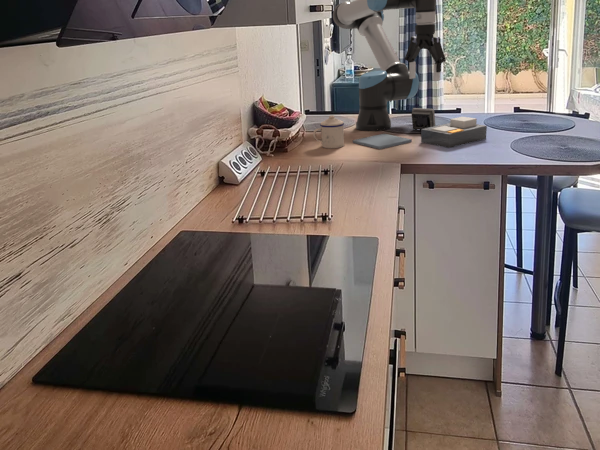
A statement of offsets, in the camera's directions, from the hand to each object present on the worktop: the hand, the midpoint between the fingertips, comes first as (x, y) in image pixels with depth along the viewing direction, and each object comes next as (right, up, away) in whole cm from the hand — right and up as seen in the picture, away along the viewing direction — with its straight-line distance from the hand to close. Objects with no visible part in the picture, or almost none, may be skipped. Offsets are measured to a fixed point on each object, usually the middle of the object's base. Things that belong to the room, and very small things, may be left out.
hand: (424, 79), depth 232 cm
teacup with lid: (-39, -28, -10) cm, 49 cm away
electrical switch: (+1, -19, +7) cm, 21 cm away
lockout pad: (-18, -27, -9) cm, 33 cm away
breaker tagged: (+4, -25, -16) cm, 30 cm away
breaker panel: (+8, -26, -13) cm, 31 cm away
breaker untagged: (+12, -21, -12) cm, 27 cm away
